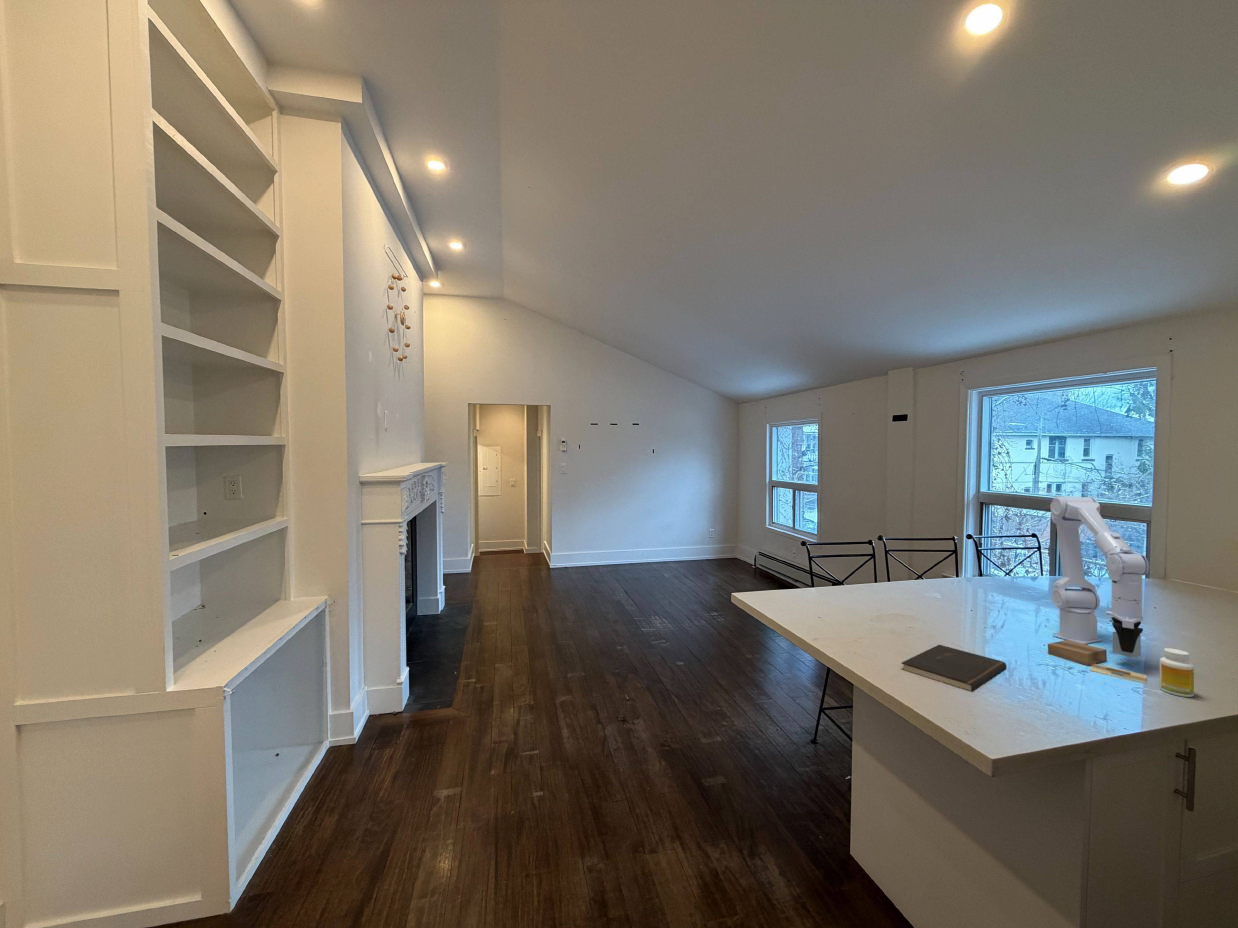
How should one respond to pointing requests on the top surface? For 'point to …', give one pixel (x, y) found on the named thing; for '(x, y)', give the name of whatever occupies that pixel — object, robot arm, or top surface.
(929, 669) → the hardcover book
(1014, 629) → the top surface
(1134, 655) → the gray brick
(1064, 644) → the walnut slab
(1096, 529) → the robot arm
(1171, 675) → the supplement bottle
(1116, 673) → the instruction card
